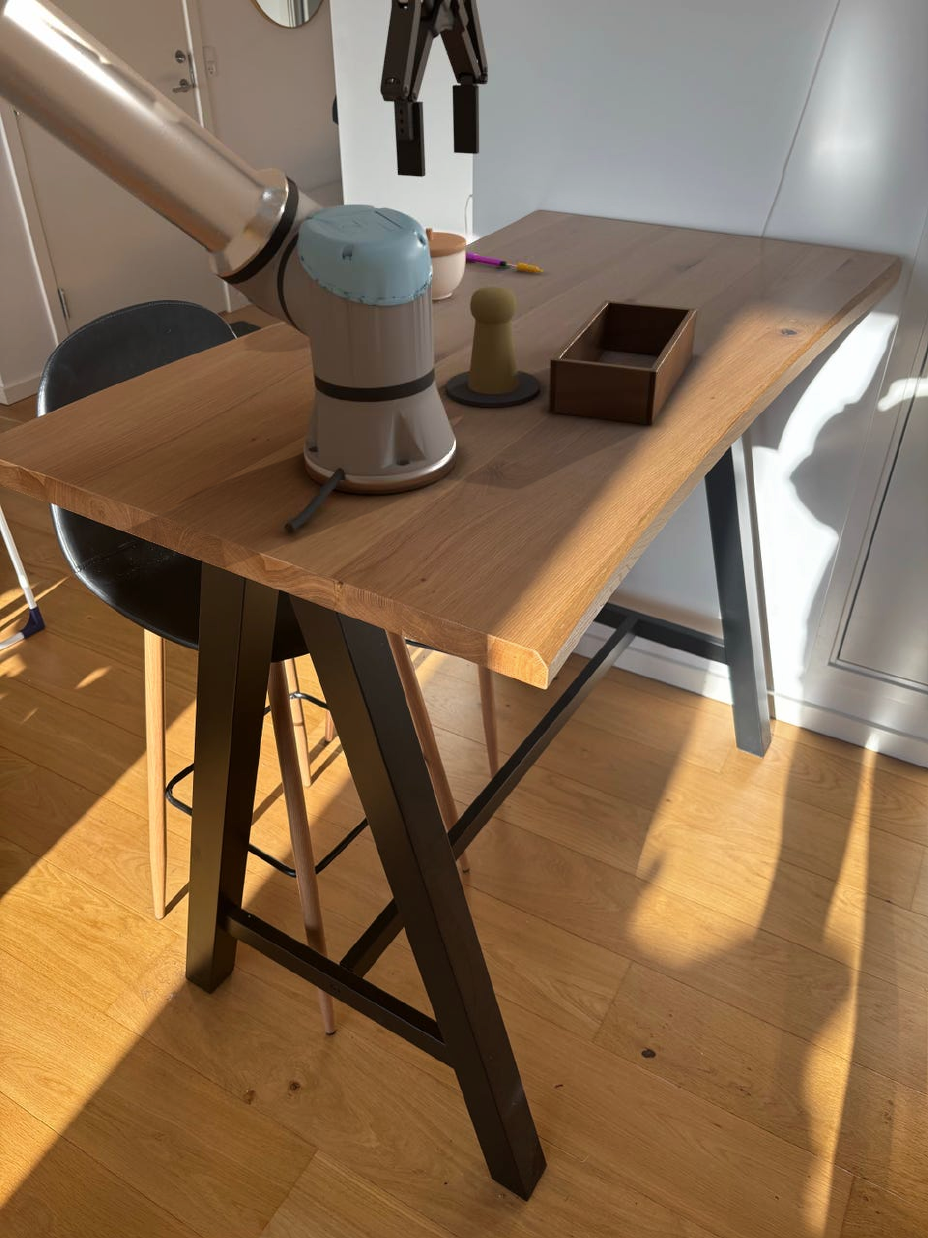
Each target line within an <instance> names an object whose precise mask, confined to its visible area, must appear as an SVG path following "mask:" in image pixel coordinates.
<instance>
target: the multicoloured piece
mask: <svg viewBox="0 0 928 1238" xmlns="http://www.w3.org/2000/svg"><path fill="white" fill-rule="evenodd" d="M466 261H467V262H472V263H479V264H486V265H490V266H491V265H492V266H496V267H507V266H508V267H509V266H511V267H515V268H516V269H517V271H520V272H528V273H534V274H537V273H538V272H541V273H543V272H544V269H540V267H538V266H535V265H530V264H526V263H524V262H523V263H522V262H518V263H517V264H512V263H508V262H507V261H506V260H502V259H498V258H493V257H489V256H488V257H487V256H483V255H478V254H476V253H471V252H466V258H465V262H466Z"/></svg>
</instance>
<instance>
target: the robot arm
mask: <svg viewBox="0 0 928 1238" xmlns="http://www.w3.org/2000/svg"><path fill="white" fill-rule="evenodd" d="M439 35H440V38H441V41H442V44H443V46H444V49H445V52H446V55H447V58H448V60H449V63H450V67H451V69H452V72H453V75H454V78H455V80H456V83H457V84H454V85H452V123H453V125H452V126H453V128H452V130H453V131H452V132H453V153H454V154H471V155H478V154H480V97H479V96H480V89H479V88H480V87H479V85H487V84H488V81H489V73H488V71H489V67H488V66H489V65H488V61H487V55H486V49H485V44H484V37H483V33H482V27H481V22H480V16H479V10H478V3H477V0H391V7H390V15H389V21H388V29H387V36H386V43H385V51H384V58H383V65H382V71H381V72H382V73H381V79H380V87H379V90H380V94H381V96H382V99H383V102H389V103H391V102H392V103H393V108H394V112H393V113H394V127H395V129H394V130H395V146H396V147H395V149H396V170H397V176H402V177H404V176H405V177H418V178H420V177H421V178H423V177H425V176H426V151H425V150H426V149H425V127H424V126H425V125H424V102H423V101H418V99H419V95H420V91H421V87H422V83H423V80H424V76H425V72H426V68H427V65H428V61H429V58H430V54H431V50H432V46H433V42H434V39H436V38H438V37H439ZM0 101H1V102H2V103H4V104H5V105H7V106H8V107H10V108H11V109H12V110H14V111H15V112H16V113H17V114H19V115H20V116H22V117H23V118H25V120H28V121H29V122H30V123H32V124H33V126H36V127H37V128H38V129H40V130H41V131H42V132H44V133H45V134H47V135H48V136H50V137H51V138H52V139H54V140H55V141H56V142H58V143H60V145H62V146H63V147H65V148H66V149H67V150H69V151H70V152H72V153H73V154H75V155H76V156H77V157H79V158H80V159H81V160H83V161H84V162H85V163H87V164H89V166H91V167H93V168H94V169H95V170H97V172H100V173H101V174H102V175H104V176H105V177H106V178H108V179H109V180H111V181H112V182H113V183H115V184H116V185H117V186H118V187H120V188H122V189H123V190H124V191H126V192H127V193H129V194H130V195H131V196H132V197H134V198H135V199H137V200H138V201H140V202H141V203H142V204H143V205H145V206H147V208H149V209H151V210H152V211H154V213H156V214H158V215H159V216H160V217H162V218H163V219H165V221H168V222H169V223H170V224H171V225H173V226H174V227H175V228H177V229H179V230H180V231H181V232H183V233H184V234H185V235H186V236H188V237H189V238H191V239H192V240H194V241H195V242H196V243H198V244H199V245H201V246H202V247H203V248H204V251H205V257H206V263H207V266H208V268H209V269H208V270H210V272H211V273H213V274H214V275H216V277H218V278H220V279H221V280H222V281H224V282H226V283H227V284H228V285H230V286H231V287H232V288H234V289H235V290H237V291H238V292H239V293H240V294H242V295H243V296H245V298H246V299H247V301H248V302H249V303H250V304H251V305H252V306H254V307H255V308H257V309H258V310H260V311H261V312H263V313H265V314H267V315H268V316H271V317H273V318H276V319H278V320H279V321H282V322H283V323H284V324H287V325H288V326H290V327H292V328H293V329H295V330H297V331H298V332H300V333H301V334H303V335H305V336H306V337H307V338H309V346H310V353H311V362H312V371H313V379H314V390H315V393H314V398H313V404H312V408H311V411H310V417H309V422H308V426H307V432H306V435H305V440H304V445H303V457H304V465H305V469H306V473H307V474H308V475H309V476H310V478H311V479H313V480H314V481H315V482H317V483H318V484H320V485H322V486H321V488H320V489H319V490H318V491H317V492H316V494H315V495H314V496H313V497H312V499H311V500H310V502H309V503H308V504H307V505H306V506H305V507H304V508H303V510H302V511H301V512H300V513H299V514H297V515H296V516H295V517H294V518H292V519H291V520H289V521H288V522H286V524H285V525H284V530H285V531H286V532H287V533H289V534H293V533H294V532H295V531H297V530H298V529H299V528H301V527H303V526H304V524H305V523H306V522H308V521H309V520H310V519H311V518H313V516H314V514H315V513H317V511H318V510H319V508H320V507H321V506H322V504H323V503H324V502H325V500H326V499H327V498H328V497H329V496H330V495H331V493H332V492H333V491H334V490H337V491H340V492H345V493H351V494H361V495H383V494H384V495H386V494H395V493H400V492H401V493H402V492H407V491H410V490H414V489H418V488H422V487H425V486H428V485H429V484H432V483H434V482H436V481H438V480H440V479H442V478H443V477H445V476H447V474H448V473H449V472H450V471H452V469H453V468H454V466H455V465H456V462H457V441H456V436H455V434H454V431H453V429H452V426H451V423H450V420H449V418H448V415H447V412H446V410H445V407H444V405H443V401H442V399H441V397H440V394H439V391H438V389H437V385H436V372H435V371H436V369H435V343H434V340H435V339H434V338H435V337H434V311H433V308H434V307H433V300H432V278H433V267H432V263H431V257H430V250H429V242H428V237H427V235H426V231H425V228H424V227H423V226H422V225H421V224H420V222H418V220H416V219H415V218H414V217H412V216H411V215H408V214H407V213H404V212H403V211H399V210H396V209H393V208H390V207H375V205H372V204H355V203H354V204H339V205H333V206H327V207H325V206H324V205H322V204H321V203H320V202H319V201H317V200H316V199H315V198H314V197H313V196H312V195H310V194H309V193H308V192H307V191H306V190H304V189H303V188H302V187H301V186H300V185H298V183H296V182H295V181H294V180H292V179H291V178H290V177H289V176H288V175H286V174H285V173H284V172H283V171H281V170H280V168H277V167H267V168H261V169H254V168H252V166H250V165H249V164H248V163H246V161H244V160H243V159H242V158H240V157H239V156H238V155H237V154H236V153H235V152H233V151H232V150H231V149H229V147H227V146H226V145H225V144H224V143H222V141H220V140H219V139H218V138H216V137H215V136H214V135H213V134H211V133H210V132H209V131H208V130H207V129H205V128H204V127H203V126H202V125H201V124H199V123H198V122H197V121H195V119H193V118H192V117H191V116H190V115H188V113H186V112H185V111H184V110H183V109H181V108H180V107H179V106H178V105H176V104H175V103H174V102H173V101H171V99H169V98H168V97H167V96H166V95H164V93H162V92H161V91H160V90H158V89H157V88H156V87H155V86H153V85H152V84H151V83H150V82H149V81H147V80H146V79H145V78H144V77H143V76H142V75H140V74H139V73H138V72H136V71H135V70H134V69H133V68H132V67H130V66H129V65H128V64H127V63H126V62H124V61H123V60H122V59H121V58H120V57H118V56H117V55H116V54H115V53H114V52H112V51H111V50H110V49H109V48H108V47H106V46H105V45H104V44H103V43H102V42H100V41H99V40H98V39H96V38H95V36H93V35H92V34H91V33H89V32H88V31H87V30H85V29H84V28H83V26H81V25H80V24H78V23H77V22H76V21H75V20H74V19H73V18H71V17H70V16H69V15H67V14H66V13H65V12H64V11H63V10H61V9H60V8H59V7H58V6H57V5H55V4H54V3H53V2H52V1H51V0H0Z"/></svg>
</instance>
